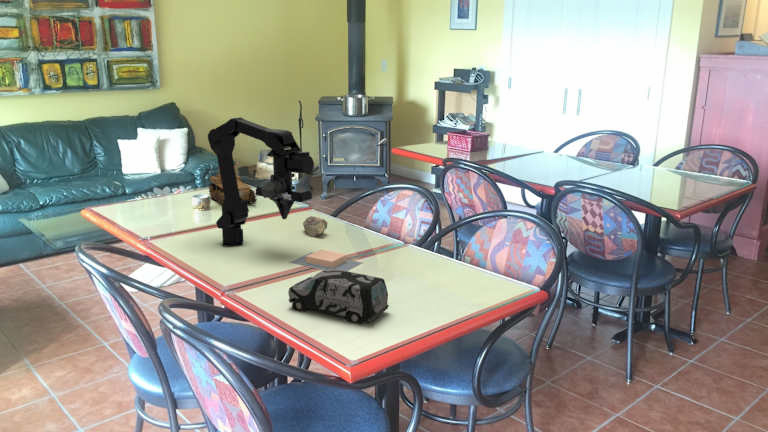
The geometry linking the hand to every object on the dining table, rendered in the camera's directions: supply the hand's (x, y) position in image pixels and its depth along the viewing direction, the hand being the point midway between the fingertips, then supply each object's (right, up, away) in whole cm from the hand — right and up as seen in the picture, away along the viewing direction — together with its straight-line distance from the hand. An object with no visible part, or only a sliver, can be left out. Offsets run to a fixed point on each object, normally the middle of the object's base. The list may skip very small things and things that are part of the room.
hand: (284, 219), depth 204 cm
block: (+10, -12, -3) cm, 16 cm away
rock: (+7, -6, +25) cm, 27 cm away
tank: (-34, +7, +72) cm, 80 cm away
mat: (+14, -14, -5) cm, 20 cm away
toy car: (+20, -24, -40) cm, 51 cm away
